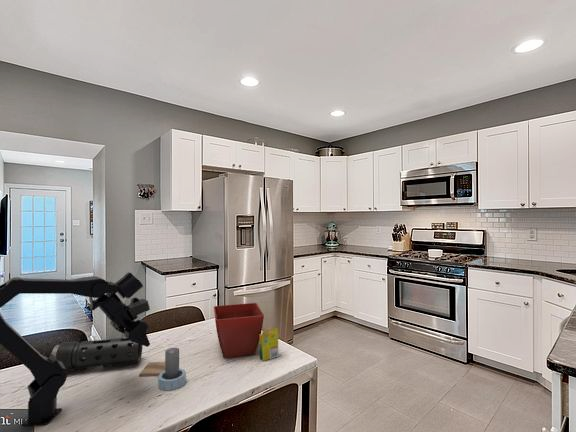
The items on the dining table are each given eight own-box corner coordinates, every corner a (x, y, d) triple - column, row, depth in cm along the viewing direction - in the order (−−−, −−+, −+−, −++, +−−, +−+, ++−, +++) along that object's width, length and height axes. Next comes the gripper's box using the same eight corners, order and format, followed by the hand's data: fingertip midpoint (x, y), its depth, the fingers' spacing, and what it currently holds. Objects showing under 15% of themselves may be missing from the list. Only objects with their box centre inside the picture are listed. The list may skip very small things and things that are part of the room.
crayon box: (275, 354, 124) (275, 325, 124) (278, 357, 122) (278, 327, 122) (258, 358, 120) (259, 329, 120) (262, 361, 118) (262, 331, 118)
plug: (177, 386, 100) (177, 353, 100) (163, 387, 99) (163, 353, 100) (180, 379, 104) (180, 347, 104) (167, 380, 104) (167, 347, 104)
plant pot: (215, 363, 116) (215, 319, 116) (213, 343, 134) (213, 305, 135) (264, 357, 121) (264, 315, 121) (256, 339, 140) (256, 302, 140)
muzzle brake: (137, 369, 112) (137, 340, 112) (48, 379, 104) (48, 349, 105) (142, 357, 121) (142, 331, 121) (61, 366, 114) (61, 338, 114)
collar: (181, 389, 98) (181, 380, 98) (154, 391, 97) (154, 381, 97) (188, 376, 106) (188, 367, 106) (163, 377, 106) (163, 368, 106)
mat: (165, 375, 107) (165, 373, 107) (139, 376, 106) (139, 374, 106) (173, 363, 116) (173, 361, 116) (148, 364, 115) (148, 362, 115)
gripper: (148, 296, 95) (174, 330, 102) (127, 286, 108) (152, 317, 115) (115, 323, 89) (146, 358, 95) (97, 310, 102) (125, 341, 108)
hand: (143, 341), depth 103 cm, fingers open, 9 cm apart
